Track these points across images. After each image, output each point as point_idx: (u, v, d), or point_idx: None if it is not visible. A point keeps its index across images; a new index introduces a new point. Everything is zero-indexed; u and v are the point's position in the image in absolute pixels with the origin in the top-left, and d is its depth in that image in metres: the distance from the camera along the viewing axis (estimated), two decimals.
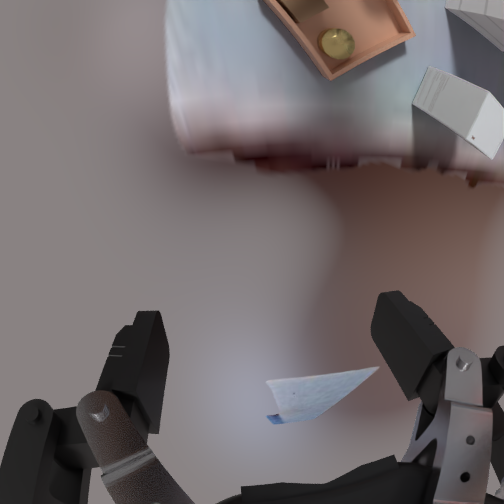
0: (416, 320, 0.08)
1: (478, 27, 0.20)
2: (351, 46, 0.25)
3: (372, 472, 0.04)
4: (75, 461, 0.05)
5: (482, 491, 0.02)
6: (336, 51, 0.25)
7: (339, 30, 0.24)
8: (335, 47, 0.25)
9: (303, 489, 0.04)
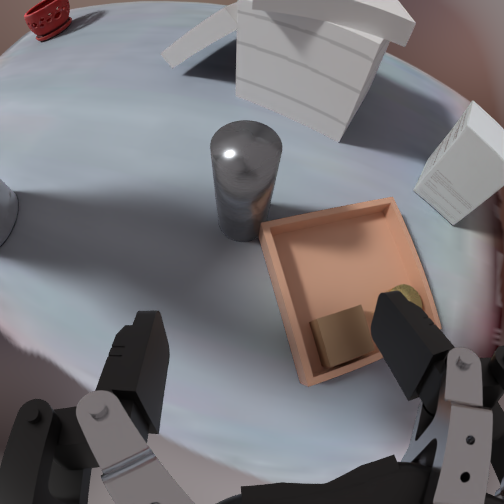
0: (416, 320, 0.08)
1: (356, 108, 0.32)
2: (409, 290, 0.23)
3: (372, 472, 0.04)
4: (75, 461, 0.05)
5: (482, 491, 0.02)
6: None
7: None
8: None
9: (303, 490, 0.04)
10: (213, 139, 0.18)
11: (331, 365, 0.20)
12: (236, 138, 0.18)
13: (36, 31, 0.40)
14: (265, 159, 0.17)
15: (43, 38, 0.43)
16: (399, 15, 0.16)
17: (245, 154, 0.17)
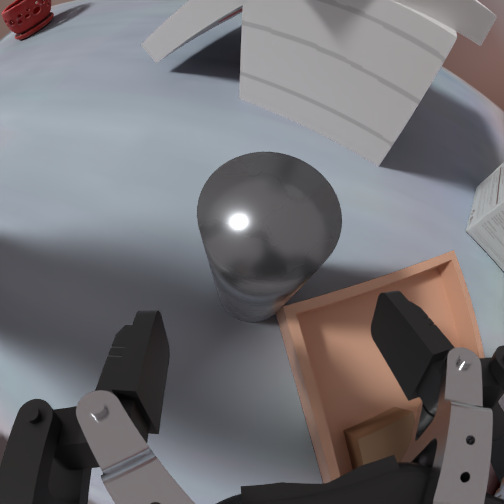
0: (416, 320, 0.08)
1: None
2: None
3: (372, 472, 0.04)
4: (75, 461, 0.05)
5: (482, 491, 0.02)
6: None
7: None
8: None
9: (304, 490, 0.04)
10: (203, 197, 0.09)
11: None
12: (251, 193, 0.09)
13: (14, 29, 0.31)
14: (311, 245, 0.09)
15: (21, 36, 0.34)
16: (477, 2, 0.07)
17: (270, 233, 0.09)
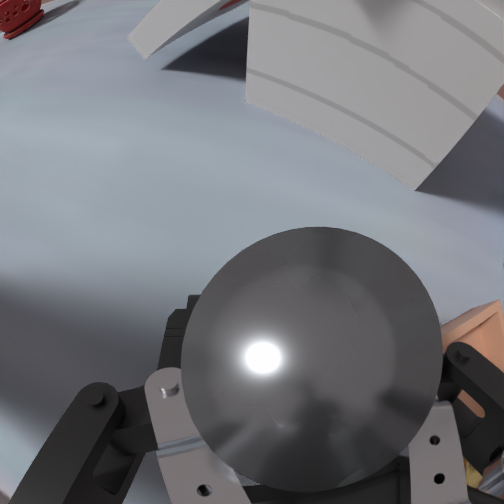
0: None
1: None
2: None
3: None
4: (135, 445, 0.06)
5: (462, 486, 0.03)
6: None
7: None
8: None
9: None
10: (192, 340, 0.04)
11: None
12: (292, 332, 0.04)
13: (2, 28, 0.26)
14: (395, 422, 0.04)
15: (10, 35, 0.30)
16: None
17: (328, 414, 0.04)
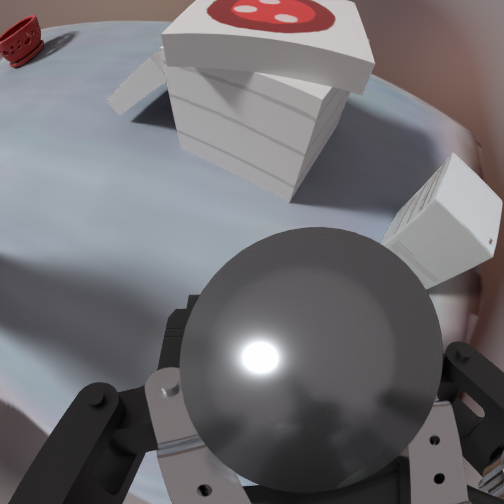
0: None
1: (314, 158, 0.31)
2: None
3: None
4: (136, 445, 0.06)
5: (462, 486, 0.03)
6: None
7: None
8: None
9: None
10: (191, 341, 0.04)
11: None
12: (290, 333, 0.04)
13: (8, 58, 0.38)
14: (395, 423, 0.04)
15: (15, 65, 0.42)
16: (352, 54, 0.15)
17: (327, 415, 0.04)
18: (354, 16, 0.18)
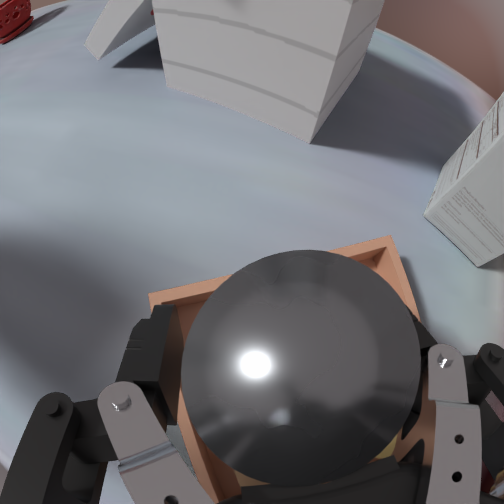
0: None
1: (338, 93, 0.21)
2: None
3: (372, 472, 0.04)
4: (94, 454, 0.05)
5: (476, 489, 0.02)
6: None
7: None
8: None
9: (304, 490, 0.04)
10: (190, 352, 0.05)
11: None
12: (278, 346, 0.05)
13: None
14: (373, 426, 0.04)
15: (3, 40, 0.32)
16: None
17: (310, 418, 0.04)
18: None
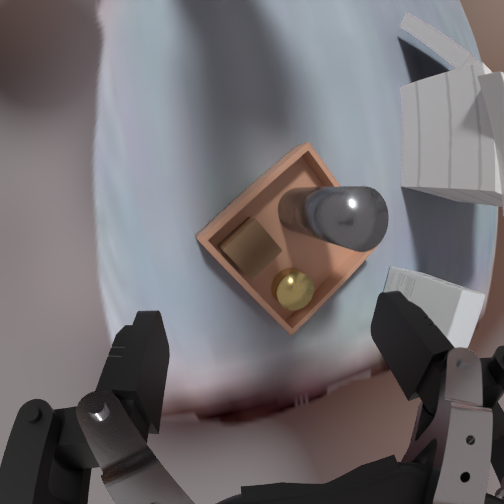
0: (416, 320, 0.08)
1: (436, 193, 0.34)
2: (309, 294, 0.29)
3: (372, 472, 0.04)
4: (75, 461, 0.05)
5: (482, 491, 0.02)
6: (291, 300, 0.29)
7: (300, 275, 0.28)
8: (291, 296, 0.29)
9: (304, 490, 0.04)
10: (359, 189, 0.18)
11: (224, 249, 0.25)
12: (367, 208, 0.19)
13: None
14: (357, 242, 0.19)
15: None
16: None
17: (356, 224, 0.19)
18: None
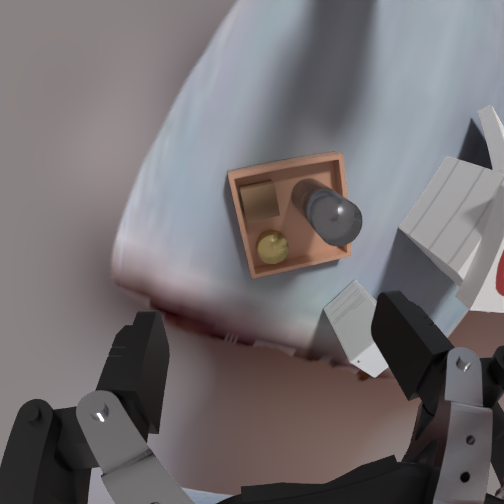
0: (416, 320, 0.08)
1: (422, 250, 0.40)
2: (280, 258, 0.37)
3: (372, 472, 0.04)
4: (75, 461, 0.05)
5: (482, 491, 0.02)
6: (266, 253, 0.37)
7: (283, 240, 0.36)
8: (268, 250, 0.37)
9: (304, 490, 0.04)
10: (348, 202, 0.25)
11: (241, 191, 0.33)
12: (346, 218, 0.26)
13: None
14: (327, 235, 0.27)
15: None
16: (477, 298, 0.25)
17: (332, 223, 0.26)
18: (503, 309, 0.27)
